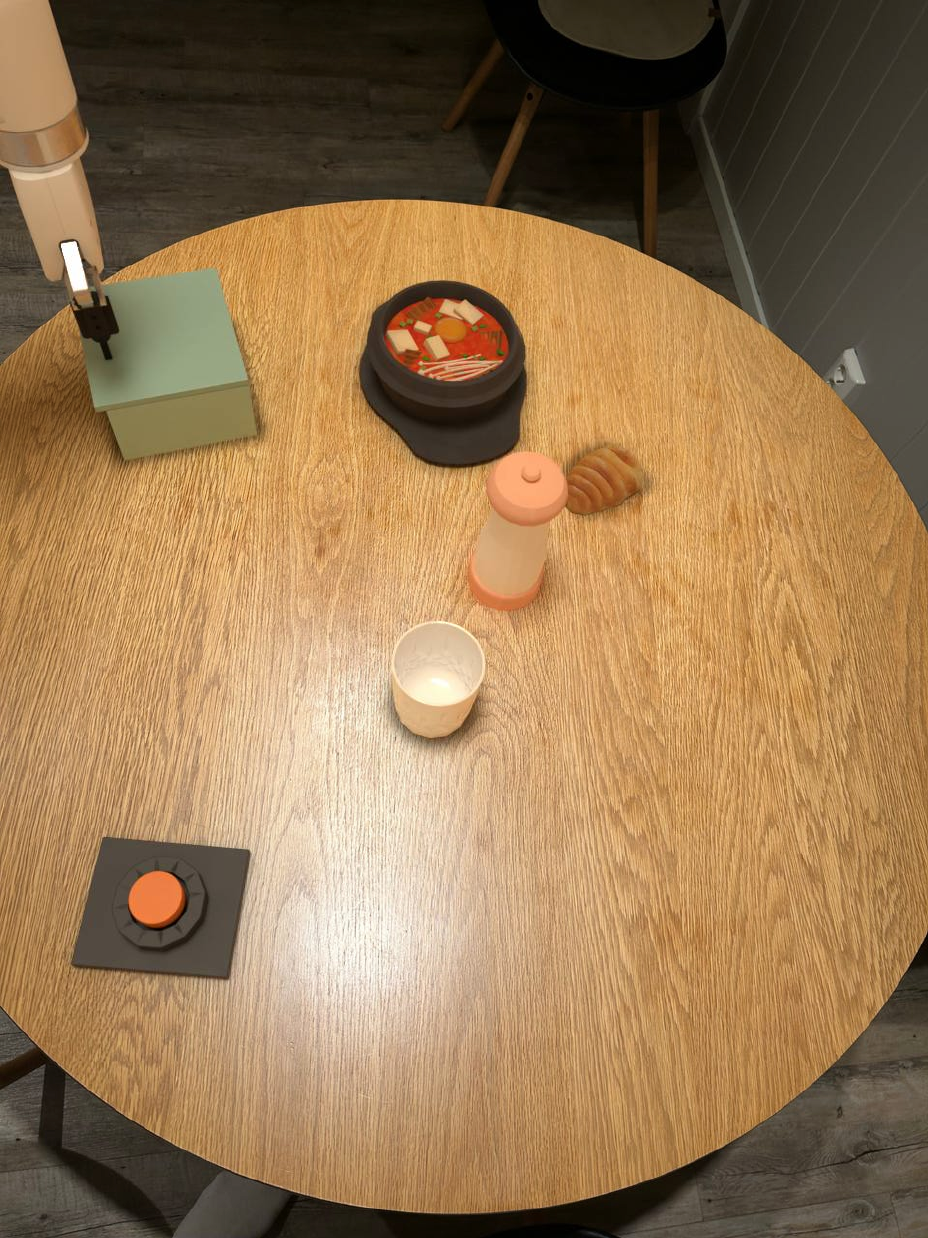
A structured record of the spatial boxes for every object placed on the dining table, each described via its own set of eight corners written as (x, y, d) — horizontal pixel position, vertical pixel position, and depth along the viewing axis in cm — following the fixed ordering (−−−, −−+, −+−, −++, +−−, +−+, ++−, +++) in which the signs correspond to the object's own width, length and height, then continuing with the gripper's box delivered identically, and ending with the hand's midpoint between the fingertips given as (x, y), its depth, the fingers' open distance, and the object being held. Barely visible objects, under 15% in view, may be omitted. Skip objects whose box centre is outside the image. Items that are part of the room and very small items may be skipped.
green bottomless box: (127, 467, 96) (106, 411, 89) (104, 355, 103) (82, 294, 95) (258, 442, 99) (249, 385, 92) (228, 334, 106) (217, 273, 98)
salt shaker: (453, 568, 94) (472, 450, 77) (516, 543, 96) (548, 423, 79) (487, 627, 92) (514, 517, 75) (551, 600, 94) (592, 487, 77)
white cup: (483, 682, 89) (495, 635, 80) (460, 758, 85) (471, 717, 76) (403, 659, 89) (407, 609, 80) (377, 733, 85) (379, 690, 77)
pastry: (585, 535, 98) (593, 514, 94) (541, 493, 100) (547, 471, 96) (646, 490, 101) (656, 468, 98) (602, 450, 103) (610, 427, 100)
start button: (127, 925, 72) (122, 921, 71) (139, 873, 74) (134, 868, 73) (180, 930, 73) (175, 926, 71) (190, 878, 75) (186, 873, 73)
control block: (78, 968, 74) (63, 961, 71) (109, 843, 79) (96, 830, 75) (230, 981, 75) (224, 974, 71) (252, 855, 79) (247, 844, 76)
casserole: (554, 459, 102) (569, 408, 94) (387, 488, 98) (389, 437, 91) (490, 294, 113) (499, 237, 105) (337, 315, 109) (335, 256, 101)
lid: (96, 412, 88) (81, 376, 84) (73, 295, 95) (59, 255, 90) (249, 385, 92) (243, 348, 87) (217, 273, 98) (210, 233, 94)
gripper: (-31, 59, 74) (39, 237, 89) (-8, 207, 67) (64, 373, 82) (68, 49, 76) (120, 225, 91) (100, 192, 68) (151, 357, 84)
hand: (93, 295), depth 86 cm, fingers open, 9 cm apart
